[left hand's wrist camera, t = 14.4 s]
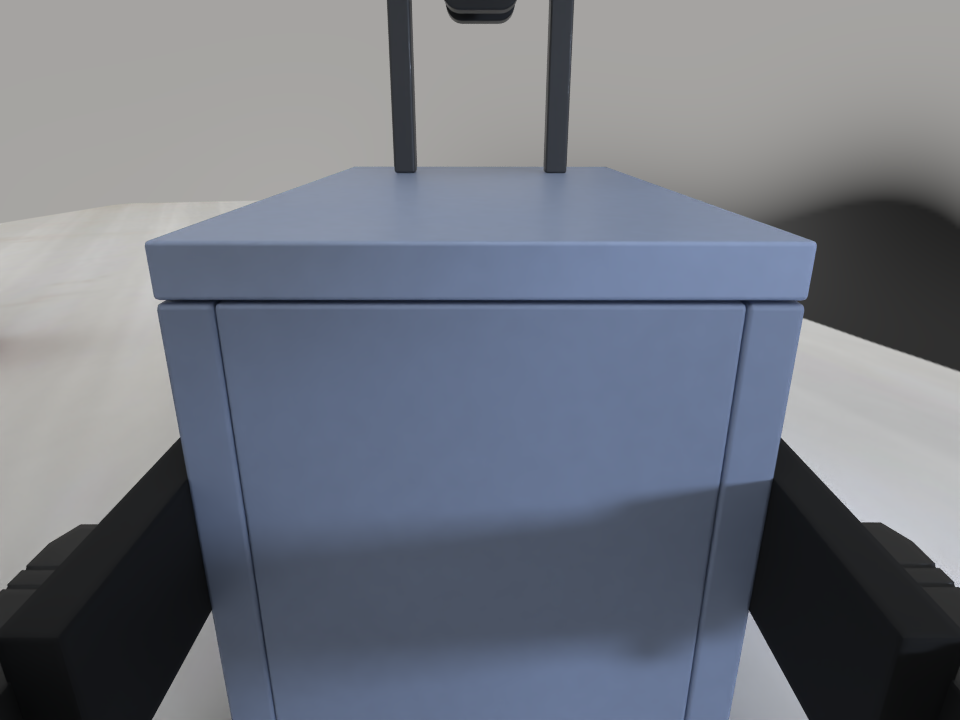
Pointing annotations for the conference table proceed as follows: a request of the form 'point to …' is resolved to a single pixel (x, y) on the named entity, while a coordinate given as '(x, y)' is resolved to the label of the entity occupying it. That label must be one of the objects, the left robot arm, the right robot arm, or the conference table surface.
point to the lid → (480, 226)
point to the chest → (480, 500)
